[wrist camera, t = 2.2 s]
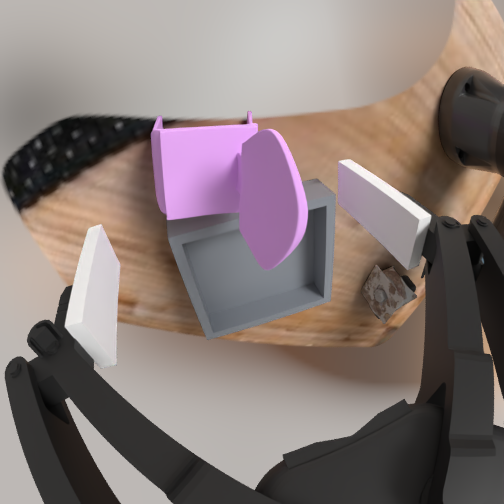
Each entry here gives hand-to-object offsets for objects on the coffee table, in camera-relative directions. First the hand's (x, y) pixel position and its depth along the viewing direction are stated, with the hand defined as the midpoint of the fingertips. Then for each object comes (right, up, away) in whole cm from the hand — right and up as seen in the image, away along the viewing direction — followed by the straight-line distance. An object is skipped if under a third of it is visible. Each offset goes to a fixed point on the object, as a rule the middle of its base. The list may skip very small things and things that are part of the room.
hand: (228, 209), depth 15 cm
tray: (+1, -2, +19) cm, 19 cm away
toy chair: (-3, +7, +10) cm, 13 cm away
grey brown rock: (+23, -7, +30) cm, 39 cm away
